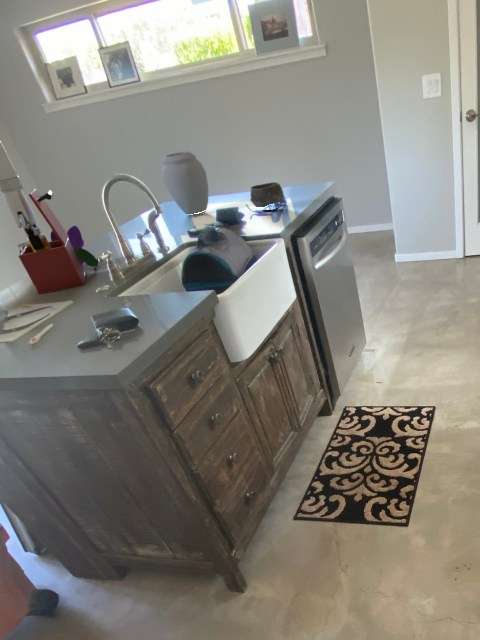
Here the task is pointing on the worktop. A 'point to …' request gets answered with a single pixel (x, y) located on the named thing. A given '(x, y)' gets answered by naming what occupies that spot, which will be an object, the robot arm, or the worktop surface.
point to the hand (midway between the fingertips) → (40, 246)
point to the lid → (49, 214)
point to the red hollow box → (53, 267)
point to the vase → (186, 182)
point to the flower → (78, 246)
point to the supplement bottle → (43, 239)
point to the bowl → (266, 194)
